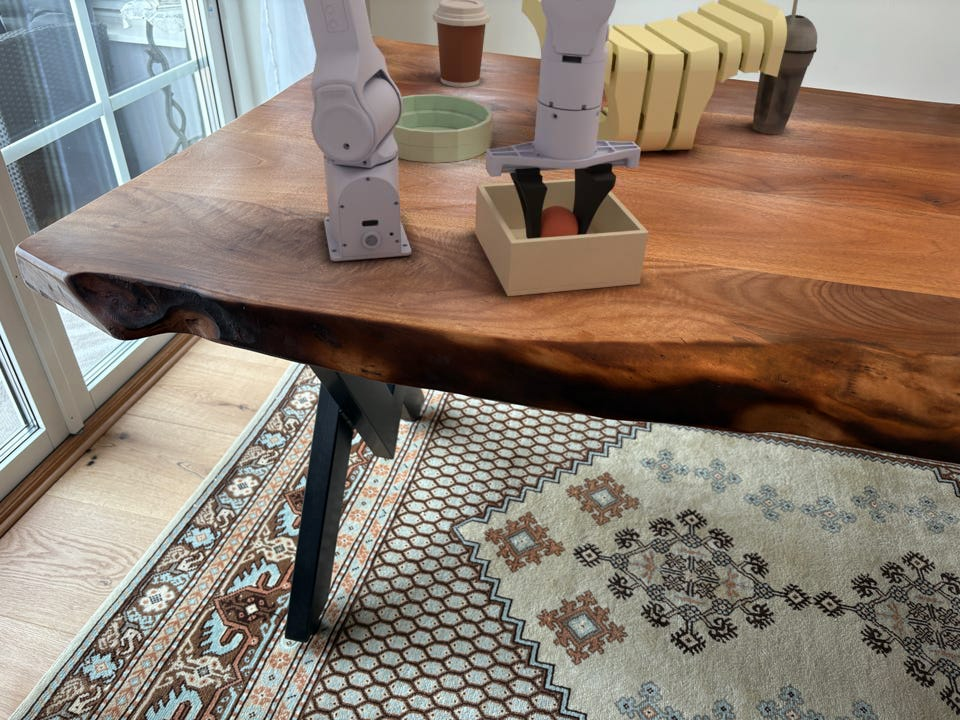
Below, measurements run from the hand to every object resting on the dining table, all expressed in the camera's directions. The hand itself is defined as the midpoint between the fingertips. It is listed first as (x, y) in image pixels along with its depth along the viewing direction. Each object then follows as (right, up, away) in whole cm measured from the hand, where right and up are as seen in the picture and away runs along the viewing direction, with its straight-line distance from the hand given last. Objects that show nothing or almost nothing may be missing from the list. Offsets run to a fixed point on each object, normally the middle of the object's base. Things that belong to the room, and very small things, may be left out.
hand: (555, 238), depth 76 cm
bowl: (-14, +17, +26) cm, 34 cm away
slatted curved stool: (+14, +19, +31) cm, 39 cm away
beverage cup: (+35, +22, +37) cm, 55 cm away
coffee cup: (-11, +34, +51) cm, 62 cm away
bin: (0, -2, +1) cm, 2 cm away
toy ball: (0, -1, +1) cm, 1 cm away
